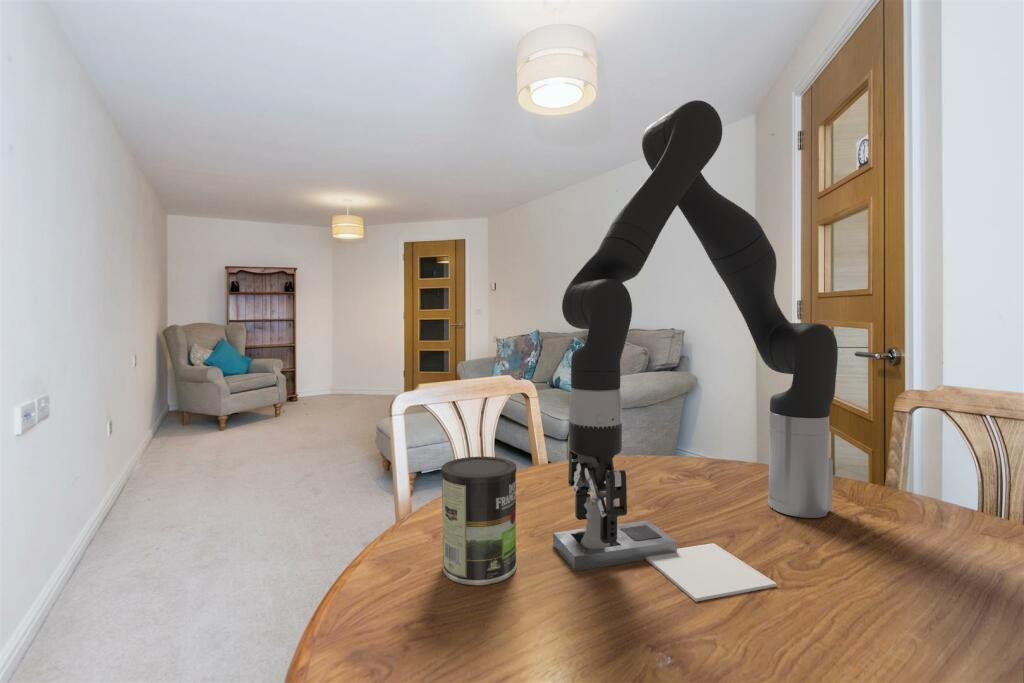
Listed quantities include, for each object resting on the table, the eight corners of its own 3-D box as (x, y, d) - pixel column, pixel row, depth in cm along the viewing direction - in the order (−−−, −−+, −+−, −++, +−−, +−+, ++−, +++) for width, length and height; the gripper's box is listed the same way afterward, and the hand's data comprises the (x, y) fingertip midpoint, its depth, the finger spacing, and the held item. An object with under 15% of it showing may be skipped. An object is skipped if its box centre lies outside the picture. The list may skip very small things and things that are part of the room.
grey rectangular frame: (647, 532, 80) (647, 519, 80) (676, 555, 72) (677, 540, 72) (553, 545, 75) (553, 531, 75) (574, 571, 67) (574, 555, 67)
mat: (713, 545, 75) (713, 543, 75) (776, 586, 63) (776, 583, 63) (642, 556, 71) (642, 553, 71) (695, 601, 60) (695, 598, 60)
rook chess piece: (610, 561, 70) (610, 505, 70) (578, 558, 71) (578, 503, 71) (610, 547, 74) (611, 494, 74) (580, 545, 75) (580, 492, 75)
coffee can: (526, 555, 72) (526, 459, 71) (500, 592, 62) (500, 481, 62) (462, 545, 76) (461, 453, 75) (428, 578, 66) (426, 472, 65)
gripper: (644, 427, 66) (643, 547, 67) (597, 409, 80) (596, 509, 80) (593, 431, 64) (592, 555, 65) (553, 411, 78) (553, 514, 78)
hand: (594, 529), depth 73 cm, fingers open, 8 cm apart
